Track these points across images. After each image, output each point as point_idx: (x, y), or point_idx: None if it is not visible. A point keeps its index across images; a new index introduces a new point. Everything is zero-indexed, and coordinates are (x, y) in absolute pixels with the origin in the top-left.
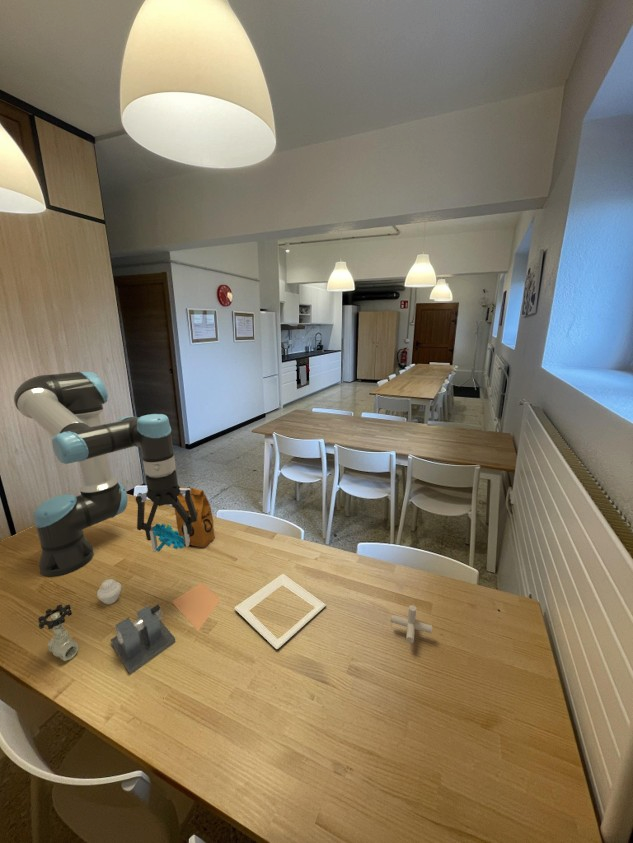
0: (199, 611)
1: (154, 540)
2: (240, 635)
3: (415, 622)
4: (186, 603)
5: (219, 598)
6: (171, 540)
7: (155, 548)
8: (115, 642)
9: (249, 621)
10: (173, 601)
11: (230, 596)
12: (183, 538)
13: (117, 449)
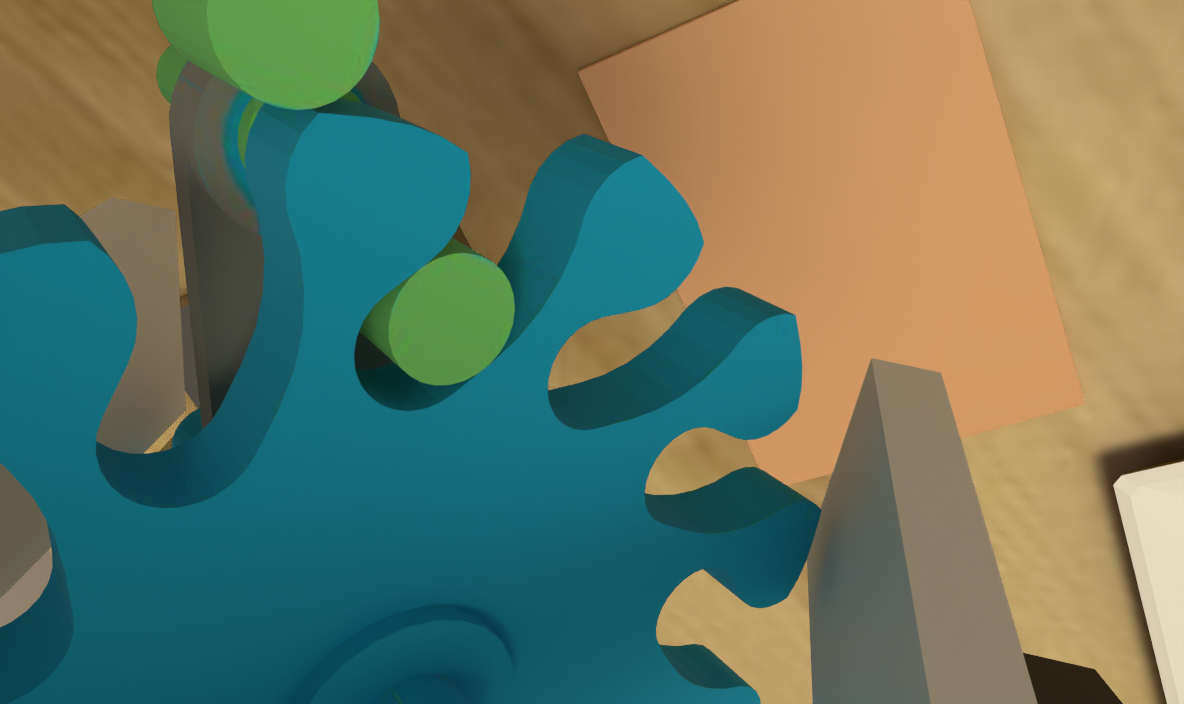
0: (816, 321)
1: (7, 558)
2: (1046, 639)
3: None
4: (718, 168)
5: (1040, 252)
6: None
7: (145, 440)
8: (184, 368)
9: (1163, 650)
10: (597, 81)
11: (1155, 260)
12: (793, 402)
13: None
